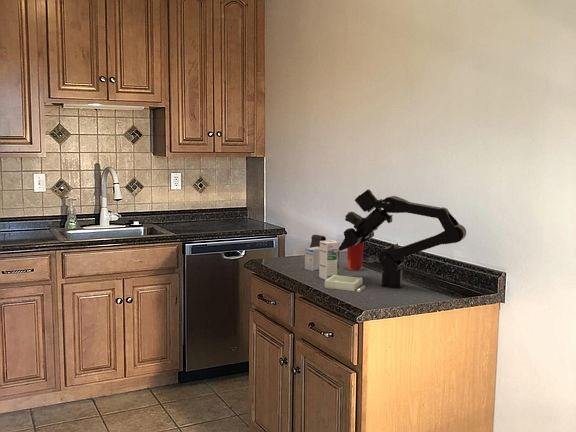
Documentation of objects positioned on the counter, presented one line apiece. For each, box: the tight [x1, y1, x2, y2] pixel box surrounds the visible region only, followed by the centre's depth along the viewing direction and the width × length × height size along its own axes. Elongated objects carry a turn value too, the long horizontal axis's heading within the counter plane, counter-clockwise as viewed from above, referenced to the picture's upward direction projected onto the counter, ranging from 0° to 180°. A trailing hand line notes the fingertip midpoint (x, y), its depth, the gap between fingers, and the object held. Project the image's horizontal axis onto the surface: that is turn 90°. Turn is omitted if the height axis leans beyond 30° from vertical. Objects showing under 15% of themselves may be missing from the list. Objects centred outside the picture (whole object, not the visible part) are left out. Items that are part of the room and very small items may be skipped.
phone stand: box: [309, 234, 327, 248], centre depth 277 cm, size 9×6×12 cm, turn 129°
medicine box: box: [304, 247, 320, 272], centre depth 264 cm, size 8×4×9 cm, turn 141°
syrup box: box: [318, 239, 341, 281], centre depth 247 cm, size 6×6×14 cm
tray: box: [323, 274, 363, 292], centre depth 234 cm, size 11×11×3 cm
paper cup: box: [346, 242, 365, 272], centre depth 265 cm, size 8×8×14 cm
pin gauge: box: [355, 284, 366, 294], centre depth 229 cm, size 8×1×1 cm
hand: (344, 248), depth 244 cm, fingers open, 9 cm apart
